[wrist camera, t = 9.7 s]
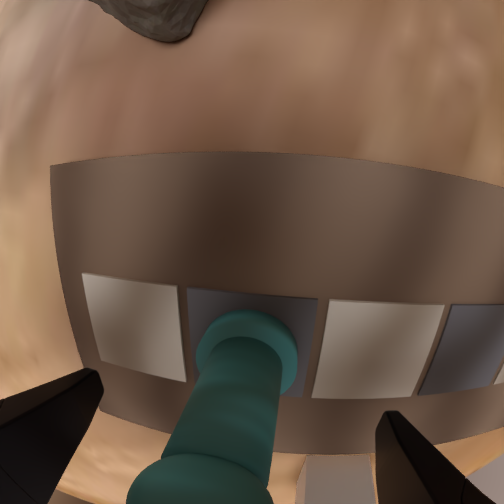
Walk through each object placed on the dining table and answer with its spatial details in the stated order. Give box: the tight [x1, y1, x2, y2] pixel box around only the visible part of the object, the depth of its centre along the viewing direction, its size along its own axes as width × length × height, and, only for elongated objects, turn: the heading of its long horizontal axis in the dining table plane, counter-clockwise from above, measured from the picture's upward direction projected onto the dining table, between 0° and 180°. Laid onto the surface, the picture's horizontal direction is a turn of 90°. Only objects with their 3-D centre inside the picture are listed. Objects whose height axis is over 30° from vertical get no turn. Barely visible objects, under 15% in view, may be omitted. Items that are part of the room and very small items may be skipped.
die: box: [295, 455, 376, 504], centre depth 12 cm, size 4×4×4 cm
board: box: [50, 152, 504, 455], centre depth 10 cm, size 28×14×1 cm, turn 88°
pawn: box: [126, 309, 298, 504], centre depth 7 cm, size 4×4×8 cm
